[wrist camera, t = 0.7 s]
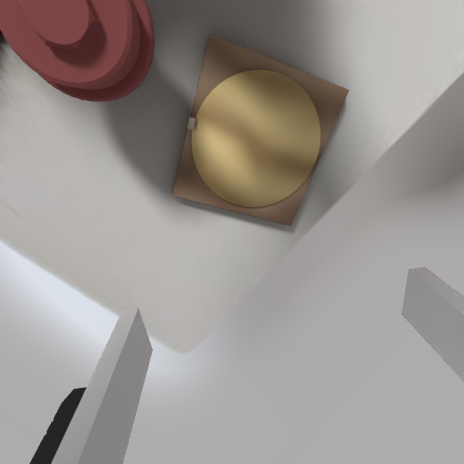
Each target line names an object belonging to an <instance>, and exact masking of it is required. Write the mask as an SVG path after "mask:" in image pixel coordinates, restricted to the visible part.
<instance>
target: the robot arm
mask: <svg viewBox="0 0 464 464" xmlns="http://www.w3.org/2000/svg"><path fill="white" fill-rule="evenodd" d="M402 315H403V316H404V317H405V318H406V319H407V320H408V321H409V323H410V324H411V325H412V326H413V327H414V328H415V329H416V330H417V331H418V332H419V333H420V335H421V336H422V337H423V338H424V339H425V340H426V341H427V342H428V343H429V344H430V345H431V347H432V348H433V349H434V350H435V351H436V352H437V353H438V354H439V355H440V356H441V357H442V358H443V359H444V361H445V362H446V363H447V364H448V365H449V366H450V367H451V368H452V369H453V370H454V371H455V373H456V374H457V375H458V376H459V377H460V378H461V379H462V380H463V381H464V296H463V295H461V294H460V293H459V292H457V291H456V290H455V289H453V288H452V287H451V286H449V285H448V284H447V283H445V282H444V281H442V280H441V279H440V278H439V277H437V276H436V275H435V274H433V273H432V272H431V271H429V270H428V269H426V268H425V267H422V268H415V269H409V272H408V279H407V285H406V291H405V298H404V304H403V310H402ZM151 354H152V347H151V344H150V341H149V338H148V335H147V332H146V329H145V326H144V323H143V320H142V317H141V314H140V311H139V308H135V309H128V310H123V311H122V313H121V315H120V317H119V319H118V322H117V323H116V326H115V328H114V330H113V332H112V334H111V336H110V339H109V341H108V343H107V345H106V347H105V349H104V351H103V354H102V356H101V358H100V360H99V362H98V364H97V366H96V369H95V371H94V373H93V375H92V378H91V379H90V382H89V384H88V386H87V387H85V388H78V389H74V390H73V391H72V392H71V393H70V394H69V395H68V396H67V398H66V399H65V400H64V401H63V402H62V403H61V405H60V407H59V409H58V411H57V413H56V415H55V417H54V420H53V422H52V423H51V424H50V426H49V428H48V430H47V434H46V435H45V436H44V438H43V440H42V441H41V443H40V445H39V447H38V449H37V451H36V453H35V455H34V457H33V458H32V460H31V462H30V464H123V461H124V457H125V453H126V449H127V446H128V442H129V438H130V434H131V430H132V426H133V423H134V419H135V415H136V411H137V408H138V404H139V400H140V396H141V392H142V388H143V385H144V381H145V377H146V373H147V369H148V365H149V361H150V358H151Z"/></svg>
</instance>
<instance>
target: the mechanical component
mask: <svg viewBox="0 0 464 464" xmlns="http://www.w3.org/2000/svg"><path fill="white" fill-rule="evenodd" d="M0 30H1V31H2V33H3V35H4V37H5V39H6V40H7V42H8V43H9V45H10V46H11V47H12V49H13V50H14V52H15V53H16V54H17V55H18V56H19V57H20V58H21V59H22V61H23V62H25V63H26V64H27V65H28V66H29V67H30V68H31V69H33V70H34V71H35V72H37V73H38V74H39V75H40V76H41V77H42V78H43V79H44V80H46V81H47V82H48V83H49V84H51V85H52V86H53V87H55V88H56V89H58V90H60V91H61V92H63V93H65V94H68V95H70V96H72V97H75V98H78V99H82V100H87V101H98V102H102V101H112V100H116V99H119V98H122V97H124V96H126V95H128V94H129V93H131V92H132V91H133V90H134V89H136V88H137V87H138V86H139V85H140V83H141V82H142V81H143V80H144V78H145V76H146V74H147V73H148V70H149V68H150V65H151V62H152V58H153V53H154V29H153V23H152V19H151V15H150V11H149V9H148V6H147V4H146V1H145V0H0Z"/></svg>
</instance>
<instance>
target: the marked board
mask: <svg viewBox="0 0 464 464" xmlns="http://www.w3.org/2000/svg"><path fill="white" fill-rule="evenodd" d="M348 91H349V90H347V89H345V88H342V87H340V86H338V85H335V84H333V83H330V82H328V81H325V80H323V79H320V78H318V77H315V76H313V75H311V74H308V73H306V72H303V71H301V70H298V69H296V68H293V67H291V66H289V65H286V64H284V63H281V62H279V61H276V60H274V59H271V58H269V57H267V56H264V55H262V54H259V53H257V52H254V51H252V50H249V49H247V48H244V47H242V46H240V45H237V44H235V43H232V42H230V41H227V40H225V39H222V38H220V37H218V36H215V35H213V34H210V37H209V41H208V45H207V50H206V54H205V58H204V62H203V67H202V71H201V75H200V79H199V83H198V88H197V92H196V96H195V100H194V105H193V109H192V113H191V117H189V121H188V126H187V129H188V130H187V134H186V138H185V143H184V147H183V151H182V155H181V159H180V164H179V168H178V172H177V176H176V181H175V185H174V189H173V193H172V195H173V196H177V197H181V198H184V199H188V200H192V201H196V202H200V203H204V204H208V205H211V206H215V207H219V208H223V209H227V210H231V211H235V212H239V213H242V214H246V215H250V216H254V217H258V218H262V219H266V220H270V221H273V222H277V223H281V224H285V225H289V226H291V225H292V223H293V220H294V218H295V216H296V213H297V211H298V209H299V206H300V204H301V202H302V199H303V197H304V195H305V192H306V190H307V188H308V185H309V183H310V181H311V178H312V176H313V174H314V171H315V169H316V166H317V164H318V162H319V159H320V157H321V155H322V152H323V150H324V148H325V145H326V143H327V141H328V138H329V136H330V134H331V131H332V129H333V127H334V124H335V122H336V120H337V117H338V115H339V113H340V110H341V108H342V106H343V103H344V101H345V98H346V96H347V94H348Z"/></svg>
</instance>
